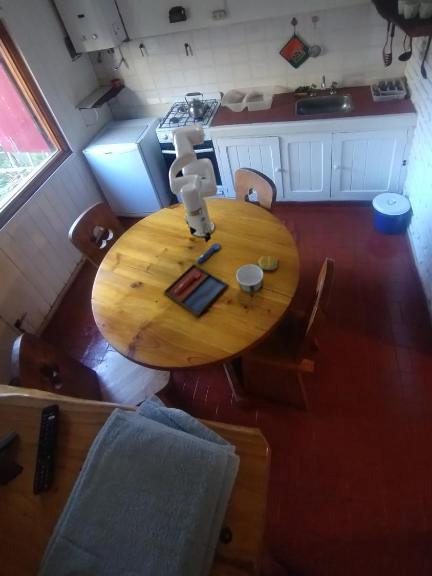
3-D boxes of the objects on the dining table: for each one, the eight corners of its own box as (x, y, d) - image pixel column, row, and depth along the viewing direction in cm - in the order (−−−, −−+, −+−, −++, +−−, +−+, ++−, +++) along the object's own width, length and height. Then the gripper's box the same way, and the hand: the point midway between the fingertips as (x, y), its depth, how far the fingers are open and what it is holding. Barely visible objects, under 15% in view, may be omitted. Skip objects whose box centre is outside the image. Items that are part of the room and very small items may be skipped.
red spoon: (179, 298, 157) (177, 294, 156) (172, 293, 160) (171, 290, 159) (202, 275, 166) (201, 271, 164) (196, 271, 168) (195, 267, 167)
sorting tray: (164, 293, 162) (163, 291, 160) (194, 266, 172) (193, 263, 171) (198, 317, 149) (197, 314, 147) (228, 286, 159) (227, 283, 158)
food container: (268, 289, 154) (267, 279, 150) (243, 298, 153) (241, 288, 149) (258, 270, 163) (257, 261, 159) (234, 278, 162) (232, 269, 158)
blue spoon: (201, 266, 171) (200, 263, 170) (194, 263, 174) (193, 259, 172) (221, 247, 179) (221, 243, 178) (215, 244, 182) (214, 240, 180)
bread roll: (259, 257, 170) (259, 251, 167) (278, 259, 167) (277, 253, 165) (257, 270, 164) (256, 264, 161) (276, 272, 161) (275, 266, 158)
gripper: (213, 210, 152) (219, 238, 163) (186, 198, 163) (193, 225, 173) (202, 220, 149) (208, 248, 159) (175, 207, 159) (183, 234, 169)
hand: (201, 236), depth 166 cm, fingers open, 9 cm apart
